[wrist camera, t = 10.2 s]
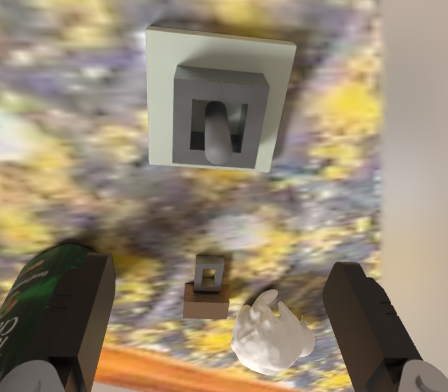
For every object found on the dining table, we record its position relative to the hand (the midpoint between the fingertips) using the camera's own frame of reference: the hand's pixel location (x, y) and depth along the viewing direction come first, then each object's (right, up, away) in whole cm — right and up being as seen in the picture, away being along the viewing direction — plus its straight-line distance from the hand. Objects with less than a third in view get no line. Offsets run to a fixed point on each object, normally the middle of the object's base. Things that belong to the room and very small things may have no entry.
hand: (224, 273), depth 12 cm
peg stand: (-1, +10, +14) cm, 17 cm away
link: (-1, +9, +13) cm, 16 cm away
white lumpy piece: (+6, -12, +30) cm, 33 cm away
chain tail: (-2, -7, +26) cm, 27 cm away
